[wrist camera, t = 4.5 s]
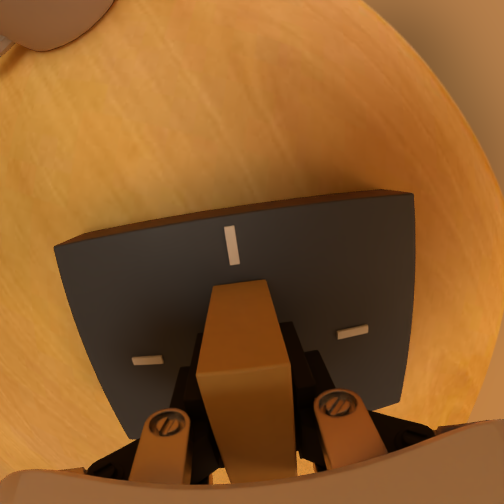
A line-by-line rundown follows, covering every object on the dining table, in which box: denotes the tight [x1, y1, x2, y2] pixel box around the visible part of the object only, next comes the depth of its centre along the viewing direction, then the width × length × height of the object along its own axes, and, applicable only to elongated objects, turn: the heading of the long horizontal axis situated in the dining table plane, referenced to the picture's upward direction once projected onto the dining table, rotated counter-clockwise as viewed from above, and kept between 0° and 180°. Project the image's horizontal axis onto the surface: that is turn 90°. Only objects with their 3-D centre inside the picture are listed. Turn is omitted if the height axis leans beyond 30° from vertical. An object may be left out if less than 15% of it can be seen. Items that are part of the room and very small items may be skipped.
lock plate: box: [54, 189, 415, 439], centre depth 13 cm, size 15×11×3 cm
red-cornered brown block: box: [196, 279, 297, 484], centre depth 9 cm, size 6×2×6 cm, turn 7°
